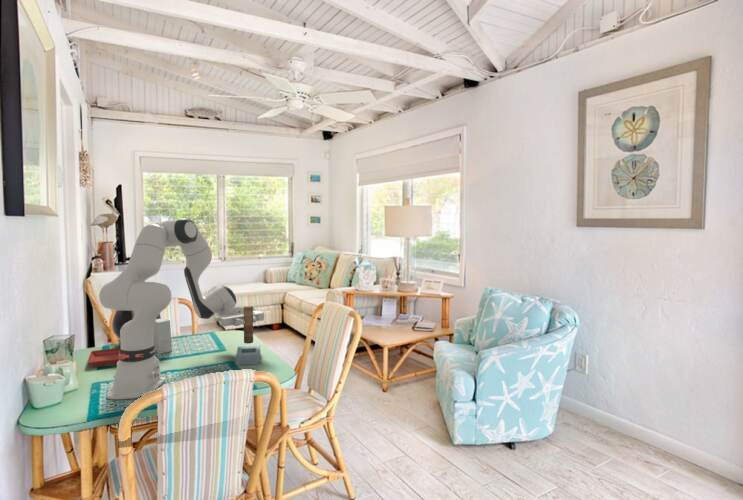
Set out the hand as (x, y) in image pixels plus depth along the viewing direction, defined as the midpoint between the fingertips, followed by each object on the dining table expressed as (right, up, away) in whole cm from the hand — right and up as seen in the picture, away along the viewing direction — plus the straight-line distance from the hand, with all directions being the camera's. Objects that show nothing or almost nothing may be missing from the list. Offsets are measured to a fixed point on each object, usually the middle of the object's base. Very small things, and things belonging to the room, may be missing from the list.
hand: (249, 321), depth 200 cm
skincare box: (-44, -16, +13) cm, 49 cm away
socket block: (-1, -17, +2) cm, 17 cm away
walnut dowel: (-1, -9, +1) cm, 10 cm away
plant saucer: (-60, -17, -1) cm, 62 cm away
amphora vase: (-61, -15, +23) cm, 67 cm away
